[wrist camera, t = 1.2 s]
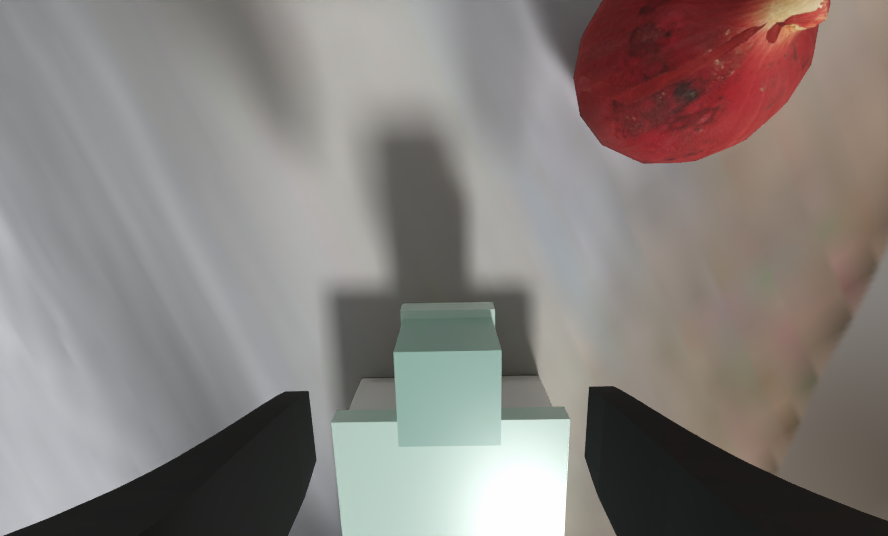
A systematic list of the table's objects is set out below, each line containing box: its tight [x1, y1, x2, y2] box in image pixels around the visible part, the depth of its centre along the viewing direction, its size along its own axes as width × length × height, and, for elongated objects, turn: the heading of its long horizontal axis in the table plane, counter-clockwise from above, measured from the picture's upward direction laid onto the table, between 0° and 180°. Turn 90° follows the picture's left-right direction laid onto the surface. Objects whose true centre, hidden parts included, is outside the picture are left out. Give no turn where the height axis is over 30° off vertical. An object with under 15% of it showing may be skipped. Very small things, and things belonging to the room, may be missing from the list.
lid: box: [331, 302, 570, 536], centre depth 15 cm, size 17×9×4 cm, turn 1°
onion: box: [574, 0, 830, 164], centre depth 12 cm, size 6×6×8 cm
